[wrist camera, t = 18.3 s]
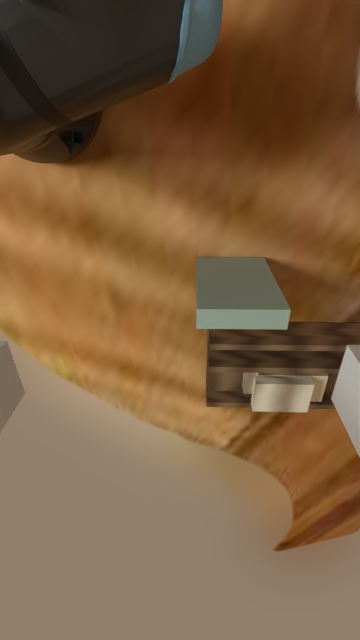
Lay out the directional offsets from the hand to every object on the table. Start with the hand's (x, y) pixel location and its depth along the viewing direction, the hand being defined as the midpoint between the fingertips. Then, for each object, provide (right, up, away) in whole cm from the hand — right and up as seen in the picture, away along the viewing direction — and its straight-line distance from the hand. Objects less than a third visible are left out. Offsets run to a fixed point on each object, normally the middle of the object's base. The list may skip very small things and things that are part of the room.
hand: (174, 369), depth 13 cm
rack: (+18, -5, +45) cm, 49 cm away
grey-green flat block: (+8, +10, +36) cm, 39 cm away
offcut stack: (+18, -7, +45) cm, 49 cm away
